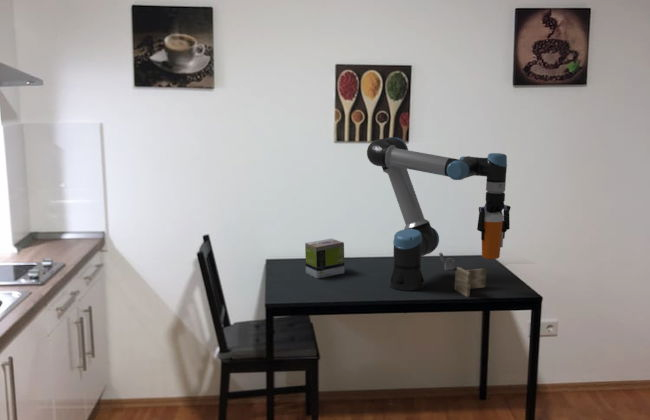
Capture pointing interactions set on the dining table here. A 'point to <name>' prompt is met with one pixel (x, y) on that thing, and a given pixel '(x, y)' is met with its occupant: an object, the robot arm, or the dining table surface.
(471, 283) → the bookend
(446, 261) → the lighter
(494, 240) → the shaker bottle
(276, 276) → the dining table surface
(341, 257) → the tea box
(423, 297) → the dining table surface
